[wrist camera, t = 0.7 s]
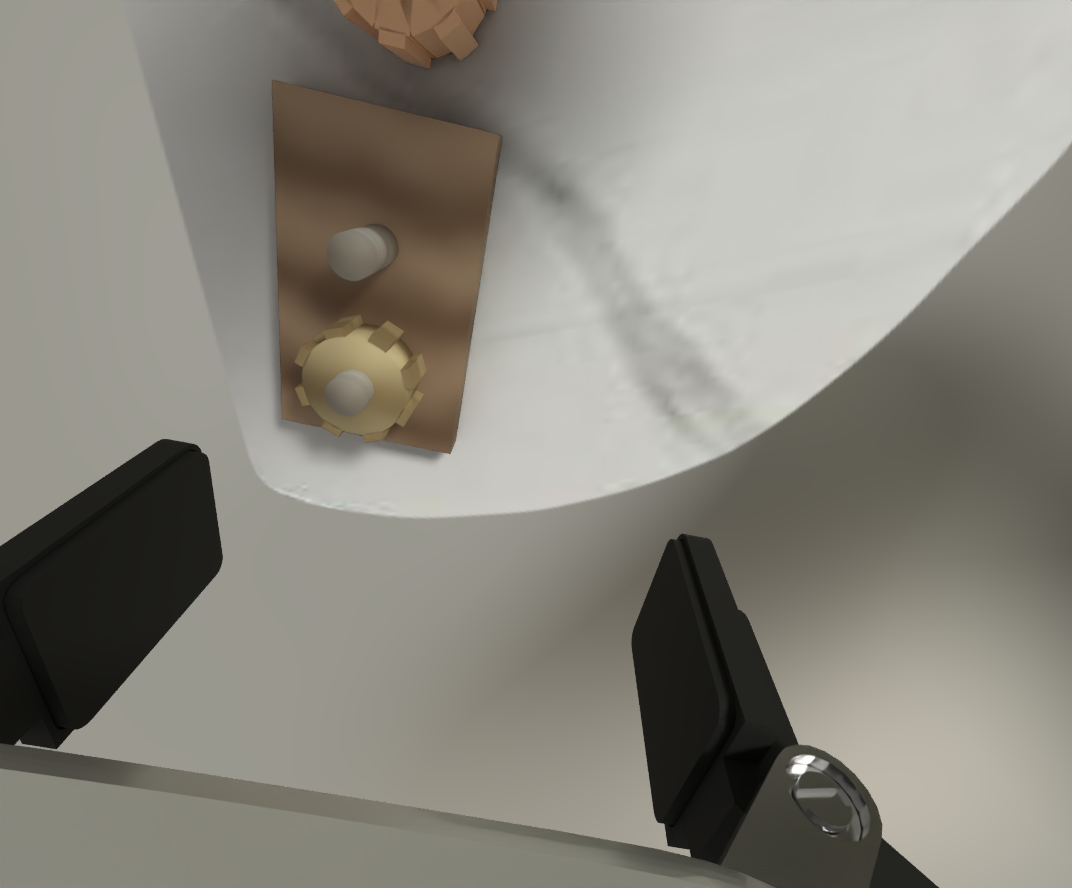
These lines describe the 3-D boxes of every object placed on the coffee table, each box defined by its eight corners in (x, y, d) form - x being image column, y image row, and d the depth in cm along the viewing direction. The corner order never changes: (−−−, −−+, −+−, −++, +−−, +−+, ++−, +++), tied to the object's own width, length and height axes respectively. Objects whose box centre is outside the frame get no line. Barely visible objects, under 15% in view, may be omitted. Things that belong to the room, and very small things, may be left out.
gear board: (289, 85, 28) (220, 63, 23) (502, 136, 29) (486, 127, 23) (295, 407, 38) (246, 449, 32) (455, 440, 38) (436, 488, 33)
